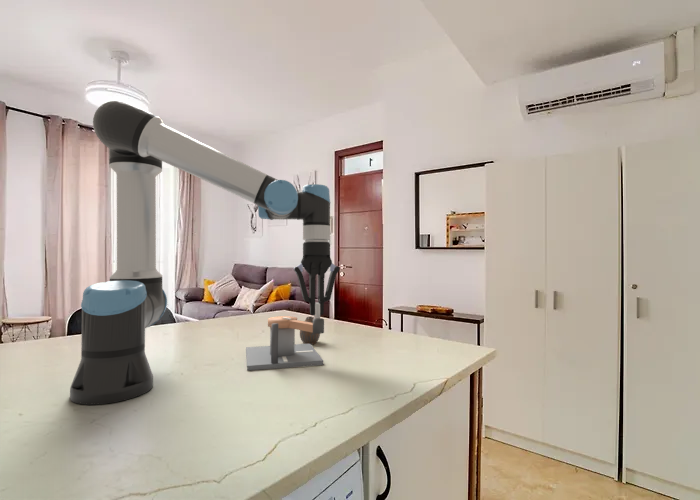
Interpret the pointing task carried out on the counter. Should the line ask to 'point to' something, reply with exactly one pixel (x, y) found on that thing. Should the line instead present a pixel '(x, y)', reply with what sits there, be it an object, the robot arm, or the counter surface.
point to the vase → (309, 334)
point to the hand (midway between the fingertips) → (316, 326)
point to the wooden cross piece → (298, 324)
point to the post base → (293, 361)
